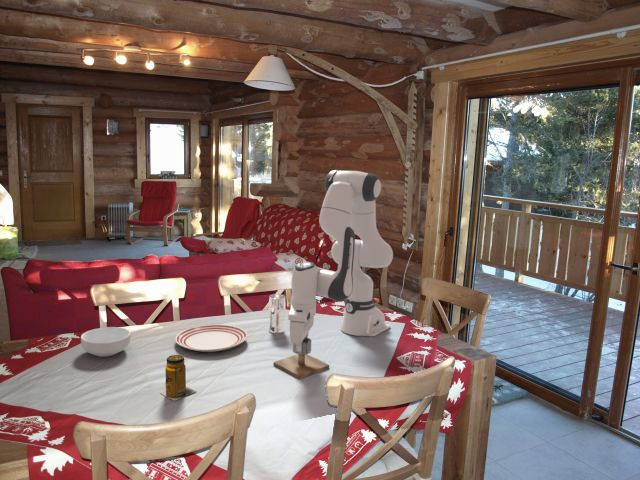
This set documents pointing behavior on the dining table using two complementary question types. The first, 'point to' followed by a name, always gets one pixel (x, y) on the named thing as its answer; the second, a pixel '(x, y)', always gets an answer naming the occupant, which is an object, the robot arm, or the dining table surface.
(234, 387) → the dining table surface
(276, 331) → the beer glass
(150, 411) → the dining table surface
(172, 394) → the condiment
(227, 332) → the dinner plate
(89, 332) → the cereal bowl
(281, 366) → the wooden peg stand
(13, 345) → the dining table surface
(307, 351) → the ring
